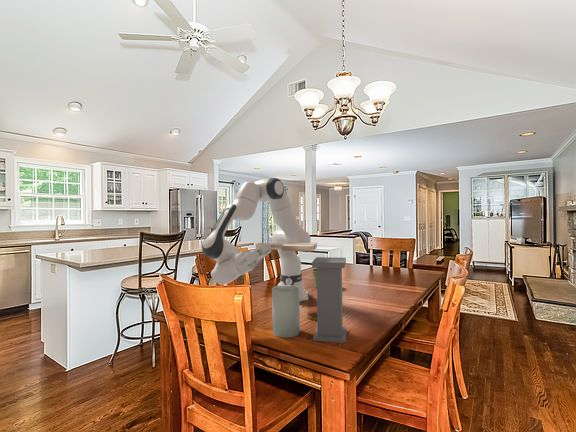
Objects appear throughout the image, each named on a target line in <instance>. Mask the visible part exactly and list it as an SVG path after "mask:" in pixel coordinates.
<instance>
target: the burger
mask: <svg viewBox="0 0 576 432" xmlns="http://www.w3.org/2000/svg"><path fill="white" fill-rule="evenodd" d="M307 318H308V319H309V320H311V321H315V322H316V321H317V306H311V307H310V308H309V309H308V310H307Z"/></svg>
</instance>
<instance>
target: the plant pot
mask: <svg viewBox="0 0 576 432" xmlns="http://www.w3.org/2000/svg"><path fill="white" fill-rule="evenodd" d="M311 271H312V275H313V279H314V284H315V285H314V286H315V288H316V289H317V267H314V268H313V269H311Z"/></svg>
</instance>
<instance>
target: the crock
mask: <svg viewBox="0 0 576 432" xmlns="http://www.w3.org/2000/svg"><path fill="white" fill-rule="evenodd" d="M271 293H272V294H271V296H272V297H271V298H272V299H271V300H272V302H271V303H272V305H271V306H272V307H271V308H272V309H271V311H272V314H271V315H272V335H274V336H275V337H278V338H284V339H285V338H287V339H288V338H289V339H290V338H294V337H296V336H299V334H300V333H301V332H300V330H301V329H300V327H301V326H300V325H301V324H300V319H301V318H300V302H299V287H297V286H293V285H279V286H278V285H274V286H273V287H271Z"/></svg>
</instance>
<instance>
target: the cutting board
mask: <svg viewBox="0 0 576 432" xmlns="http://www.w3.org/2000/svg"><path fill="white" fill-rule="evenodd" d="M269 244H271V246H272V248H271V250H277V249H282V251H295V252H313V251H315V250H316V249H317V248H318V242H310V243H296V242H288V243H272V242H268V243H267V242H261V243H260V242H259V243H255V249H258V248H263V247H265V246H267V245H269Z"/></svg>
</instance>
